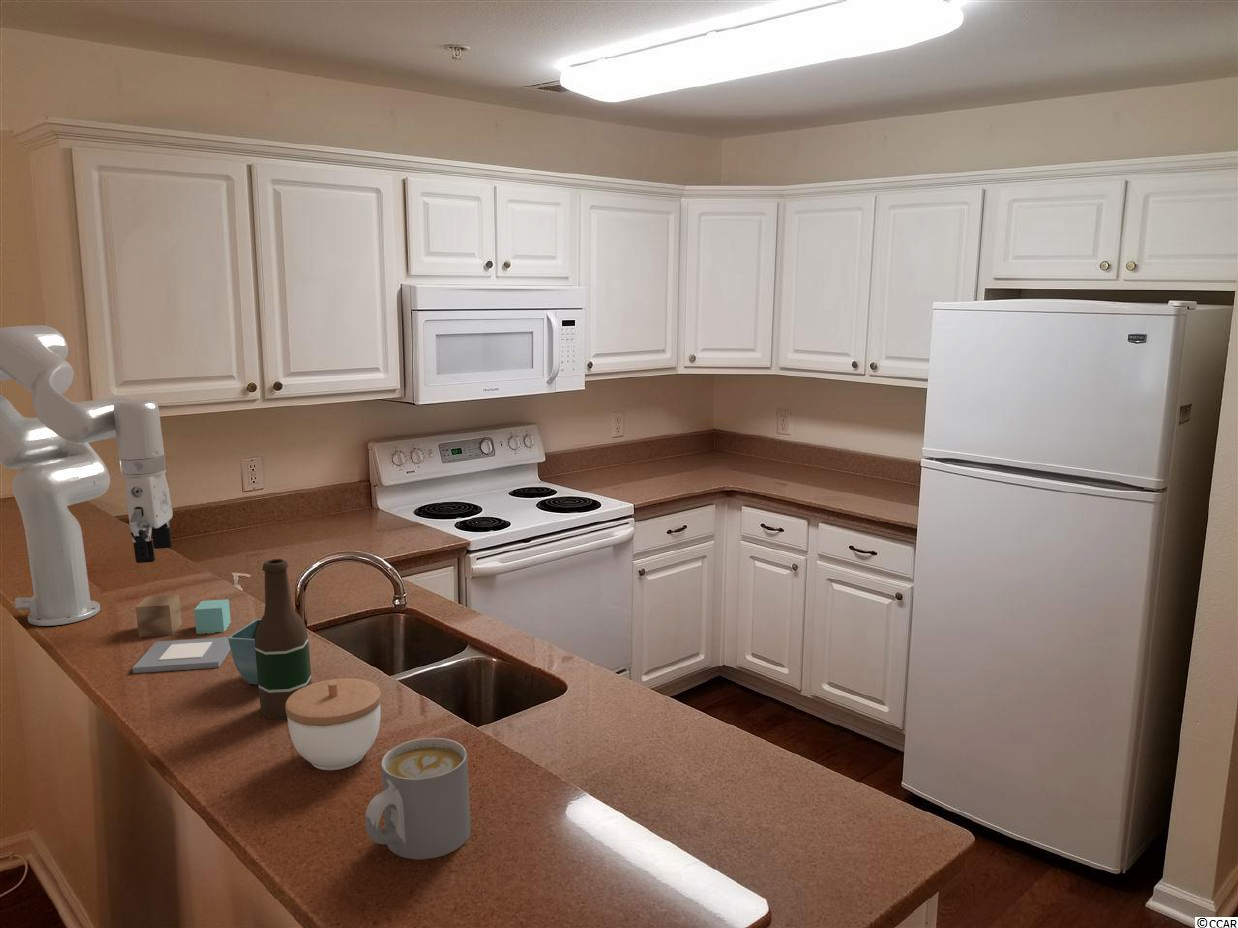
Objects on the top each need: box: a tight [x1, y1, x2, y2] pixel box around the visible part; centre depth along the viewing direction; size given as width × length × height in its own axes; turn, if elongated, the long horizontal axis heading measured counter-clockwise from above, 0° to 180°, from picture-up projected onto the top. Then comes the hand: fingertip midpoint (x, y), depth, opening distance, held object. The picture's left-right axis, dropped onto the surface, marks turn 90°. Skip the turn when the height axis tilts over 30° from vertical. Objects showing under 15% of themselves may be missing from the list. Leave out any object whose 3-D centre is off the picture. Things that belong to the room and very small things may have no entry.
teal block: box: [193, 599, 232, 635], centre depth 179 cm, size 5×5×5 cm
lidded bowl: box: [285, 677, 382, 771], centre depth 129 cm, size 13×13×11 cm
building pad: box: [132, 636, 231, 674], centre depth 166 cm, size 14×12×1 cm
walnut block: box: [135, 594, 183, 638], centre depth 179 cm, size 6×6×6 cm
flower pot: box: [227, 618, 262, 685], centre depth 155 cm, size 9×9×9 cm
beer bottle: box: [255, 558, 313, 720], centre depth 143 cm, size 8×8×24 cm
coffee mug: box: [364, 737, 472, 860], centre depth 109 cm, size 13×10×10 cm
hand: (154, 554), depth 176 cm, fingers open, 9 cm apart
